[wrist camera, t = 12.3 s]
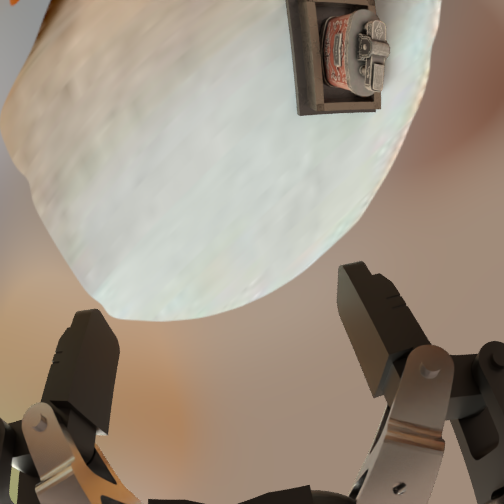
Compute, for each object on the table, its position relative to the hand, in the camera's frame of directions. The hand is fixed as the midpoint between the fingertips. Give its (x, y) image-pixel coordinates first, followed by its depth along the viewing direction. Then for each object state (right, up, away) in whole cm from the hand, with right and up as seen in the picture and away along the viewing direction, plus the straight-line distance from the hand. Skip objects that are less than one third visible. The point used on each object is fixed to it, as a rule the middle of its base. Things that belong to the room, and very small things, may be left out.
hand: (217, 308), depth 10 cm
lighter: (+10, +23, +17) cm, 30 cm away
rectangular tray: (+10, +23, +18) cm, 31 cm away
